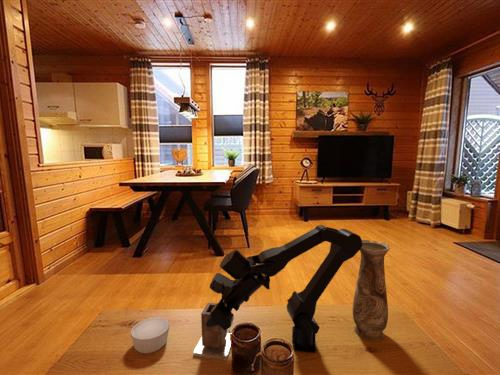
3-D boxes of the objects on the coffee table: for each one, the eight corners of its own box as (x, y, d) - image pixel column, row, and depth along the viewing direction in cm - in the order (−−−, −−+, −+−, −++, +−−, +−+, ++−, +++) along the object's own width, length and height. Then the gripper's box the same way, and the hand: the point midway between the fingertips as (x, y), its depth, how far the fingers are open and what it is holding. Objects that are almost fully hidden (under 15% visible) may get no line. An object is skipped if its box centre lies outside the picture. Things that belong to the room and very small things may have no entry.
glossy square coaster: (234, 336, 84) (234, 322, 84) (226, 360, 74) (226, 343, 74) (204, 333, 86) (204, 319, 85) (193, 355, 76) (192, 339, 75)
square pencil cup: (227, 334, 82) (226, 304, 81) (221, 347, 76) (221, 315, 75) (208, 332, 83) (207, 302, 82) (202, 345, 77) (201, 313, 76)
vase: (386, 327, 88) (390, 241, 85) (387, 348, 79) (392, 251, 76) (353, 320, 93) (355, 237, 90) (350, 338, 83) (354, 246, 80)
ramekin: (133, 336, 85) (132, 320, 84) (169, 328, 89) (168, 314, 88) (129, 360, 74) (128, 343, 74) (170, 351, 78) (169, 334, 77)
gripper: (233, 255, 86) (202, 285, 89) (216, 281, 68) (178, 317, 71) (257, 280, 85) (225, 309, 88) (247, 312, 67) (207, 348, 70)
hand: (210, 319), depth 79 cm, fingers closed on square pencil cup, 6 cm apart
